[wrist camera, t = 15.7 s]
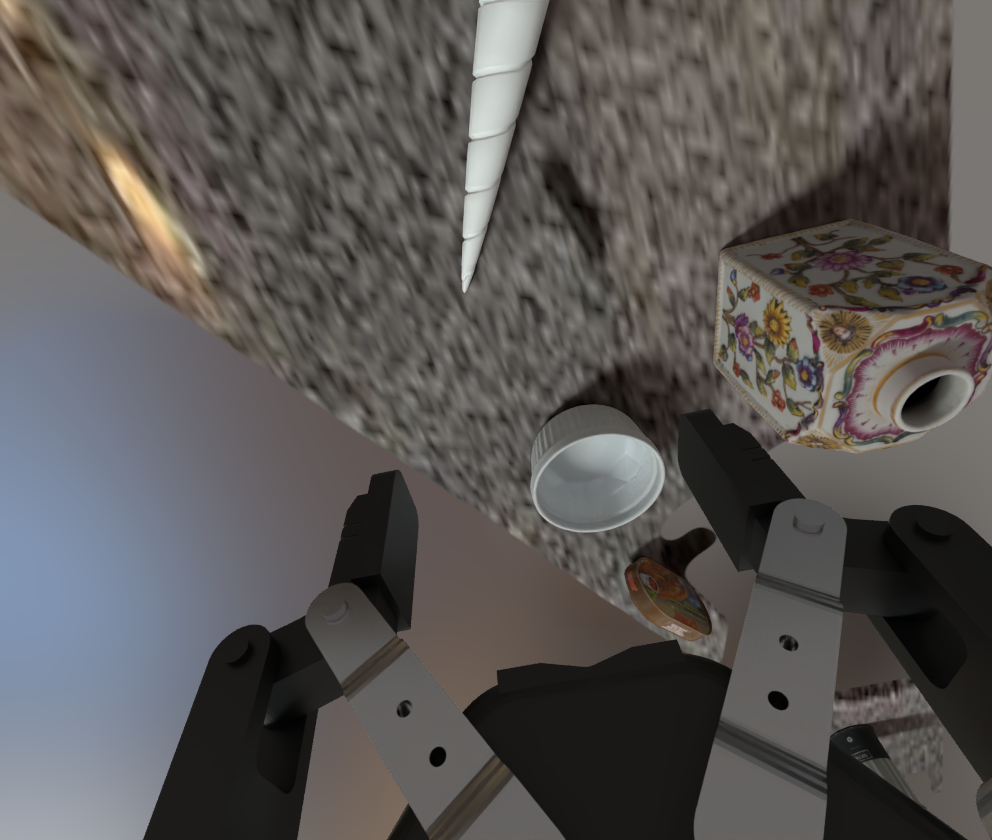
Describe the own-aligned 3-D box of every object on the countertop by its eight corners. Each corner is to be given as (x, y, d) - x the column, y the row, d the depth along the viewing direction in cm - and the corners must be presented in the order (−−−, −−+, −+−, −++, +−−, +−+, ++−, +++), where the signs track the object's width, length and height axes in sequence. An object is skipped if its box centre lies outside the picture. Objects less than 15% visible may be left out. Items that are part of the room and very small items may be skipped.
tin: (697, 586, 69) (724, 642, 62) (680, 597, 71) (705, 653, 64) (630, 546, 63) (652, 603, 56) (613, 559, 64) (632, 616, 57)
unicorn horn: (420, 281, 41) (417, 301, 37) (488, -108, 28) (494, -140, 24) (474, 293, 42) (477, 315, 38) (564, -78, 29) (581, -104, 25)
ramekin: (663, 450, 54) (688, 493, 48) (564, 505, 58) (576, 551, 52) (606, 369, 47) (627, 408, 42) (499, 438, 51) (505, 482, 45)
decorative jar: (708, 364, 48) (822, 490, 33) (714, 248, 41) (860, 340, 26) (830, 337, 47) (1002, 453, 32) (856, 214, 40) (1089, 289, 26)
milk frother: (855, 720, 101) (909, 807, 89) (899, 731, 107) (956, 814, 95) (802, 748, 108) (846, 832, 96) (846, 757, 113) (893, 837, 101)
